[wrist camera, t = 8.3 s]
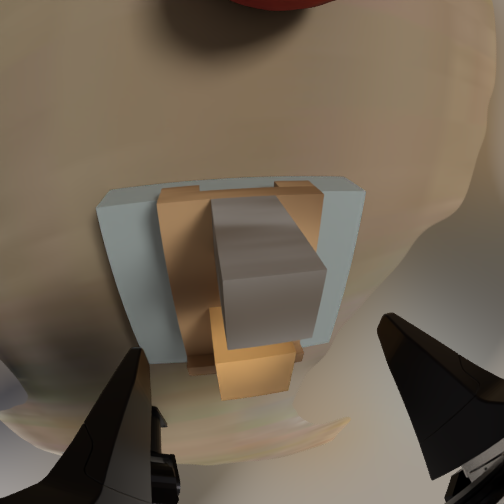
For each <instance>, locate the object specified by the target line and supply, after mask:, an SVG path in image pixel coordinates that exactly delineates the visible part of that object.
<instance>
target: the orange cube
mask: <svg viewBox="0 0 504 504" xmlns="http://www.w3.org/2000/svg"><path fill="white" fill-rule="evenodd" d="M209 312H210V322H211V331H212V341H213V349H214V358H215V365H216V371H217V377H218V383H219V388H220V393H221V399H222V401H224V400H232V399H240V398H247V397H254V396H260V395H267V394H272V393H278V392H283V391H288V389H289V385H290V380H291V376H292V371H293V366H294V361H295V356H296V350H295V347H294V344H293V342H292V341H291V342H285V343H278V344H272V345H265V346H258V347H250V348H242V349H234V350H228V349H227V342H226V336H225V330H224V323H223V316H222V309H221V307H212V308H209Z"/></svg>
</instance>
